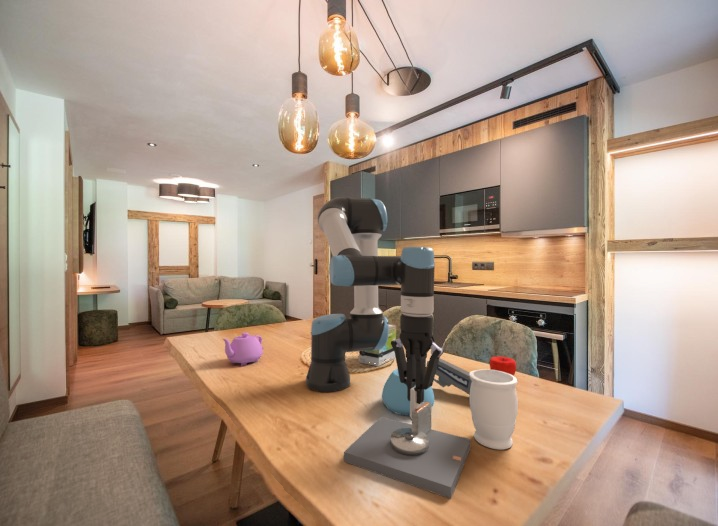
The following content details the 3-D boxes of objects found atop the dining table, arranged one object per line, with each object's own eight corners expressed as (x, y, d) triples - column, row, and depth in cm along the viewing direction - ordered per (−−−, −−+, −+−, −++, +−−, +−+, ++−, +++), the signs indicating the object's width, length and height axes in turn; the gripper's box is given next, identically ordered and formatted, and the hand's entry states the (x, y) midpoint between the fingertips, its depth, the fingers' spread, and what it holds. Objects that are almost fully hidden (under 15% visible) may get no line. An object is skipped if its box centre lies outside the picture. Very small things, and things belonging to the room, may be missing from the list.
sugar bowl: (373, 400, 99) (373, 361, 99) (415, 392, 105) (415, 356, 105) (398, 422, 85) (398, 377, 85) (445, 412, 91) (445, 370, 91)
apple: (509, 387, 109) (509, 363, 109) (484, 380, 116) (484, 357, 116) (520, 380, 115) (520, 358, 115) (496, 374, 122) (496, 353, 122)
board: (343, 461, 68) (343, 451, 68) (380, 424, 83) (380, 415, 83) (451, 498, 57) (451, 486, 57) (470, 448, 73) (470, 438, 73)
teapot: (233, 372, 124) (233, 340, 124) (211, 365, 132) (211, 335, 132) (273, 359, 141) (273, 331, 141) (251, 354, 149) (251, 327, 149)
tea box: (379, 367, 130) (379, 330, 130) (358, 363, 136) (358, 327, 136) (396, 358, 143) (396, 324, 143) (376, 354, 148) (376, 322, 148)
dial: (417, 460, 65) (417, 428, 65) (383, 446, 70) (383, 416, 70) (444, 433, 75) (444, 406, 75) (413, 422, 80) (413, 397, 80)
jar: (462, 429, 81) (462, 369, 81) (502, 427, 82) (502, 368, 82) (482, 454, 70) (482, 384, 70) (527, 452, 71) (527, 383, 71)
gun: (479, 431, 97) (498, 389, 93) (413, 381, 113) (428, 343, 109) (483, 427, 99) (502, 386, 96) (419, 378, 115) (433, 342, 111)
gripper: (384, 312, 76) (383, 413, 76) (434, 319, 68) (433, 431, 68) (401, 309, 82) (400, 402, 82) (449, 315, 74) (448, 418, 74)
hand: (415, 415), depth 75 cm, fingers closed
